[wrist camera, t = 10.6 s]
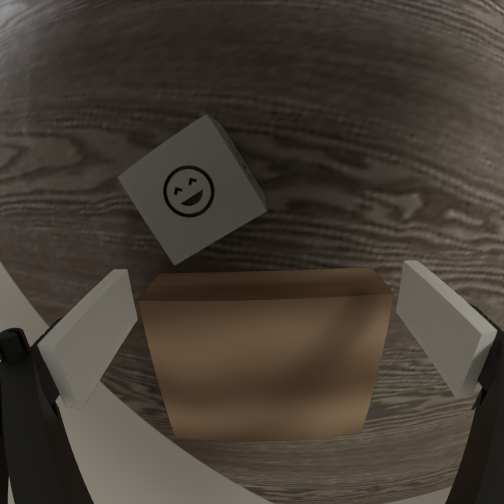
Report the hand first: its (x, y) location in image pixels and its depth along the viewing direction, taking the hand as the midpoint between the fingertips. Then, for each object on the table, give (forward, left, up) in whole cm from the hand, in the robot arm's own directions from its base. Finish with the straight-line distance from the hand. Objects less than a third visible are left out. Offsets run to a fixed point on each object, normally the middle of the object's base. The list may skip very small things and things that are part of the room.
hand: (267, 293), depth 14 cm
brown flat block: (+7, 0, -6) cm, 9 cm away
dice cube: (-2, -2, -3) cm, 4 cm away
